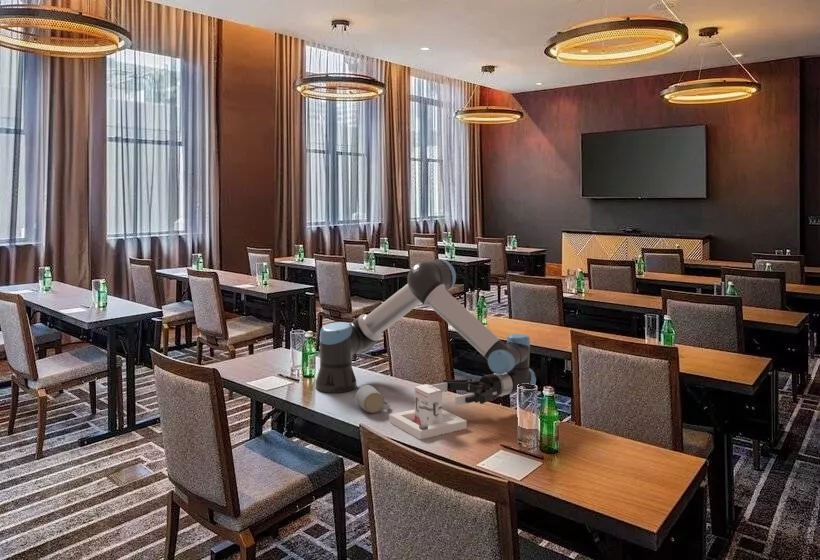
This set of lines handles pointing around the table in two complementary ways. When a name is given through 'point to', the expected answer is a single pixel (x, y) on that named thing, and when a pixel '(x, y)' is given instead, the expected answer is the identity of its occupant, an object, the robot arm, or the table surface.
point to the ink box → (428, 405)
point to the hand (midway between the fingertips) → (442, 395)
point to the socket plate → (424, 431)
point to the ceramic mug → (370, 399)
